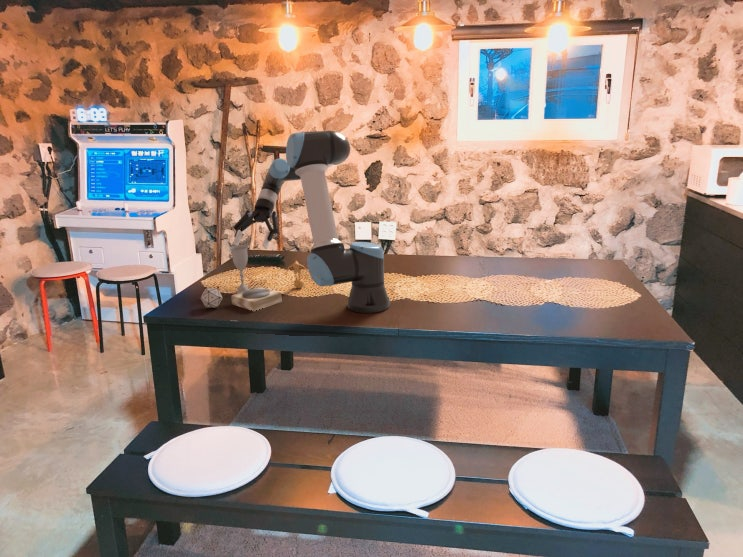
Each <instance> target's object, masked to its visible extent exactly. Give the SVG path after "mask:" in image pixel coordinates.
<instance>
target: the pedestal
mask: <svg viewBox="0 0 743 557" xmlns="http://www.w3.org/2000/svg"><path fill="white" fill-rule="evenodd" d="M282 296H283V295H282V293H281V292H279V291H276V290H271V289H270V288H269V289H268V288H266V287H261V286H257V287H254V288H251V289H249V290H247V291H244V292H241V293H237V292H236V293H235V294H231V304H232V305H233V306H235V307H239V308H242V309H246V310H249V311H251V310H252V311H251V312H257V311H260V310H263V309H266V308H268V307H271V306H274V305H278V304H279V303H282V302H283V300H282V299H283V298H282ZM262 308H263V309H262ZM259 309H260V310H259ZM256 310H257V311H256Z"/></svg>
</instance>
